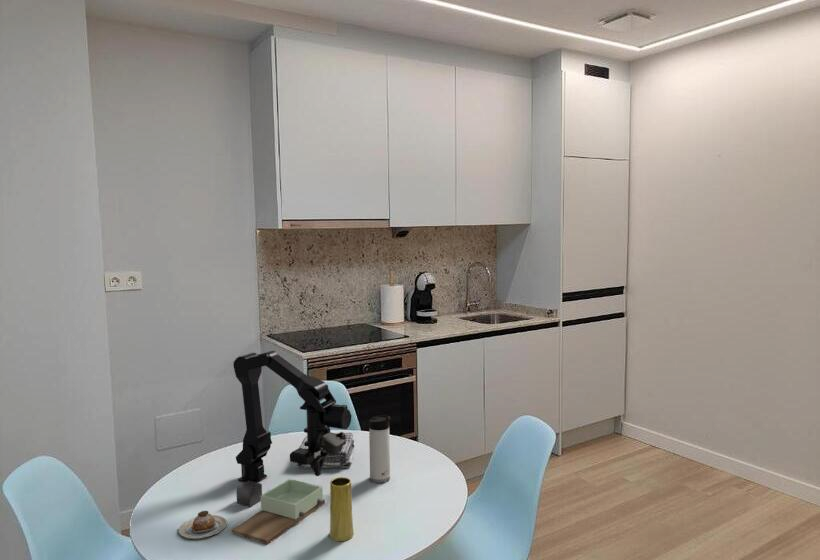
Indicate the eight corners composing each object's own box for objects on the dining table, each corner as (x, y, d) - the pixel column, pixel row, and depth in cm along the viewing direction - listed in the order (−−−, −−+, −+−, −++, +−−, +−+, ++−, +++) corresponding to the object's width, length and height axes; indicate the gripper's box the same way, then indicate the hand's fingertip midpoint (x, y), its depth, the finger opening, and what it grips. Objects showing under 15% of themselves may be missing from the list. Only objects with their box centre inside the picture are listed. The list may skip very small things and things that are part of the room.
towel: (305, 452, 204) (304, 430, 203) (356, 452, 203) (356, 430, 202) (294, 470, 188) (294, 447, 188) (350, 470, 188) (350, 447, 187)
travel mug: (388, 484, 177) (387, 420, 175) (367, 482, 178) (366, 419, 176) (393, 475, 183) (392, 414, 181) (372, 473, 184) (372, 412, 183)
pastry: (226, 538, 148) (226, 520, 148) (176, 545, 145) (175, 528, 144) (227, 515, 159) (226, 499, 159) (180, 522, 156) (180, 506, 156)
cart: (258, 508, 159) (258, 495, 159) (287, 491, 170) (286, 478, 170) (298, 520, 153) (297, 505, 153) (325, 501, 164) (324, 487, 163)
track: (231, 532, 149) (231, 529, 149) (291, 494, 171) (291, 491, 170) (267, 544, 144) (267, 540, 144) (324, 503, 165) (324, 500, 165)
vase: (330, 529, 151) (329, 476, 149) (353, 528, 151) (352, 475, 150) (329, 542, 145) (327, 487, 143) (353, 540, 145) (352, 486, 144)
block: (236, 504, 165) (236, 487, 165) (249, 496, 170) (248, 480, 169) (250, 507, 163) (249, 490, 163) (262, 500, 167) (261, 483, 167)
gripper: (319, 439, 158) (321, 494, 160) (356, 419, 175) (357, 469, 176) (287, 433, 164) (289, 486, 165) (326, 413, 180) (327, 462, 181)
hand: (317, 475), depth 172 cm, fingers closed
